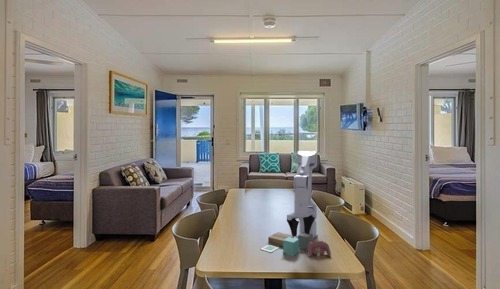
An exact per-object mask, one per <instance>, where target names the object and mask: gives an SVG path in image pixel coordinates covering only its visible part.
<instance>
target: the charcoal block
mask: <svg viewBox="0 0 500 289" xmlns="http://www.w3.org/2000/svg"><path fill="white" fill-rule="evenodd" d="M297 235H298V234H297ZM297 239H299V249H303V250H307V251H308V249H307V245H308V243H310V242H313V241H314V238H313V234H310V233H309V234H306V233H305V232H302V233H301V234H299V235H298V237H297Z"/></svg>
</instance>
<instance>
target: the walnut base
mask: <svg viewBox="0 0 500 289" xmlns="http://www.w3.org/2000/svg"><path fill="white" fill-rule="evenodd" d="M288 237H291V238H295V237H294V236H292V234H288V233H285V232H280V231H278V232H275V233H274V234H272V235H270V236H268V237H267V238H268V239H267V241H268V244H269V245H273V246H276V247H281V248H283V240H284V239H286V238H288Z"/></svg>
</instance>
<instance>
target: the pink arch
mask: <svg viewBox="0 0 500 289" xmlns="http://www.w3.org/2000/svg"><path fill="white" fill-rule="evenodd" d="M317 248H319V254H320V255H324V254H325V253H326V255H327V256H328V257H330V258H331V255H332V253H331V248H330V245H329V243H327V242H326V241H324V240H323V241H322V240H313V242H310V243H308V245H307V249H308V250H307V254H308V256H309V257H310V258H311V257H312V255H317V254H318V249H317Z"/></svg>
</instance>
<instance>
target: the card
mask: <svg viewBox="0 0 500 289" xmlns="http://www.w3.org/2000/svg"><path fill="white" fill-rule="evenodd" d="M279 249H280V246H277V245H274V244H270V243H268V244H267V245H265V246H263V247H261V248H260V249H259V250H261V251H264V252H267V253H273V252H276V251H277V250H279Z"/></svg>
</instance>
